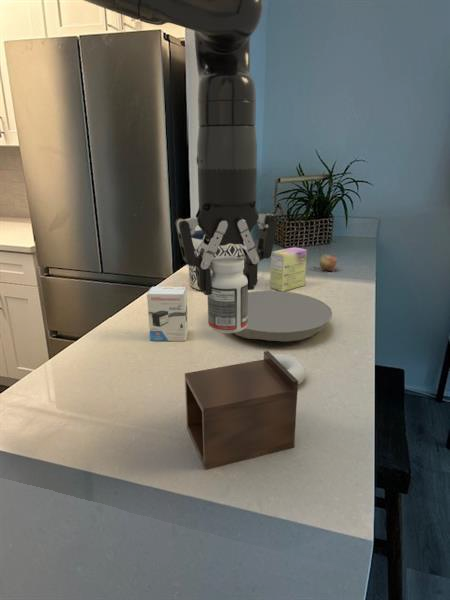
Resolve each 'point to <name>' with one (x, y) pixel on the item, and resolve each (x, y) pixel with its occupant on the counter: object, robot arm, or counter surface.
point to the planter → (221, 251)
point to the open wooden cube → (241, 410)
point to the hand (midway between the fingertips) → (227, 290)
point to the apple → (328, 262)
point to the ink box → (167, 313)
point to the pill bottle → (228, 295)
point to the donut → (292, 366)
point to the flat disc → (284, 316)
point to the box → (288, 268)
